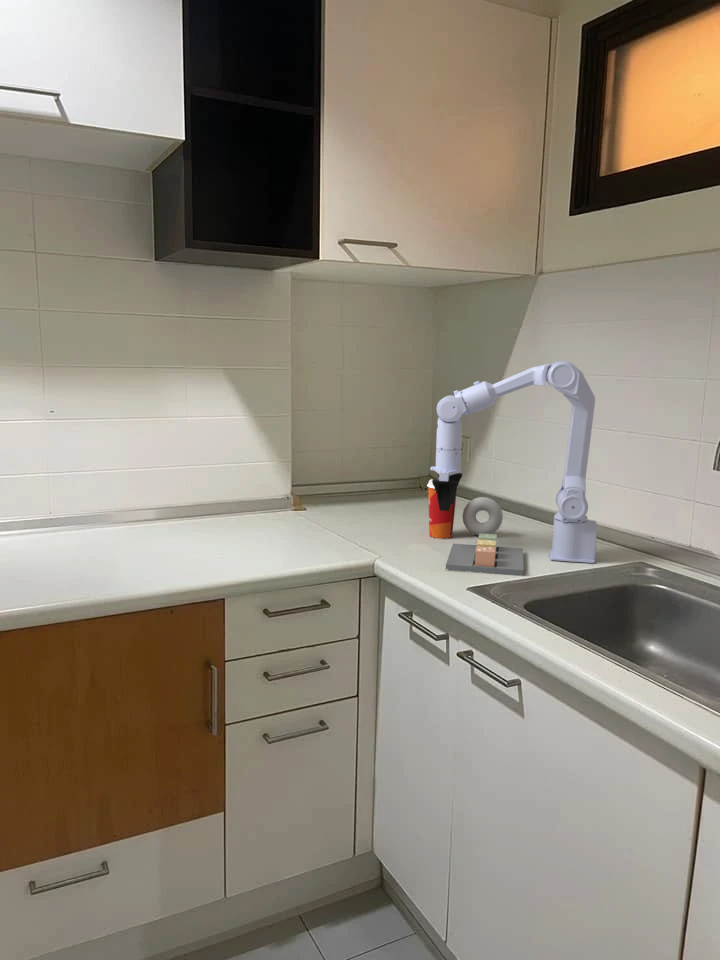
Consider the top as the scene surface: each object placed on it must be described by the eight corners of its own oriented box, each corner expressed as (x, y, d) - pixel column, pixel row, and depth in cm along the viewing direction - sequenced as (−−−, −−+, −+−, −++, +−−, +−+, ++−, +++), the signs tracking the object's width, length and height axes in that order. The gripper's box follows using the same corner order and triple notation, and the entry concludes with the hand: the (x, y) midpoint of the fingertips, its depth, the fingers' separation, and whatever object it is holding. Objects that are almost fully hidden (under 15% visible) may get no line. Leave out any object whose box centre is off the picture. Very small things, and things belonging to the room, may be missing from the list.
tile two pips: (495, 554, 166) (496, 540, 165) (495, 559, 162) (495, 544, 161) (477, 553, 167) (478, 539, 166) (476, 558, 163) (477, 543, 162)
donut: (461, 536, 186) (463, 497, 184) (461, 533, 189) (462, 494, 188) (502, 538, 185) (504, 499, 183) (501, 535, 188) (503, 496, 187)
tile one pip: (496, 547, 172) (497, 533, 171) (495, 552, 168) (496, 538, 167) (478, 546, 172) (479, 532, 172) (477, 551, 169) (478, 536, 168)
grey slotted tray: (522, 553, 172) (523, 548, 171) (523, 575, 154) (523, 570, 154) (452, 548, 175) (453, 543, 175) (445, 570, 157) (445, 564, 157)
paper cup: (438, 531, 192) (439, 477, 189) (462, 536, 186) (464, 481, 184) (418, 536, 186) (420, 480, 184) (443, 541, 181) (445, 484, 178)
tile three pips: (494, 562, 160) (495, 547, 159) (494, 567, 156) (494, 551, 156) (475, 560, 161) (476, 545, 160) (474, 565, 157) (475, 550, 156)
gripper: (435, 444, 178) (434, 500, 180) (426, 451, 164) (424, 512, 166) (465, 445, 176) (463, 502, 178) (458, 453, 162) (456, 514, 164)
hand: (446, 507), depth 172 cm, fingers open, 7 cm apart
